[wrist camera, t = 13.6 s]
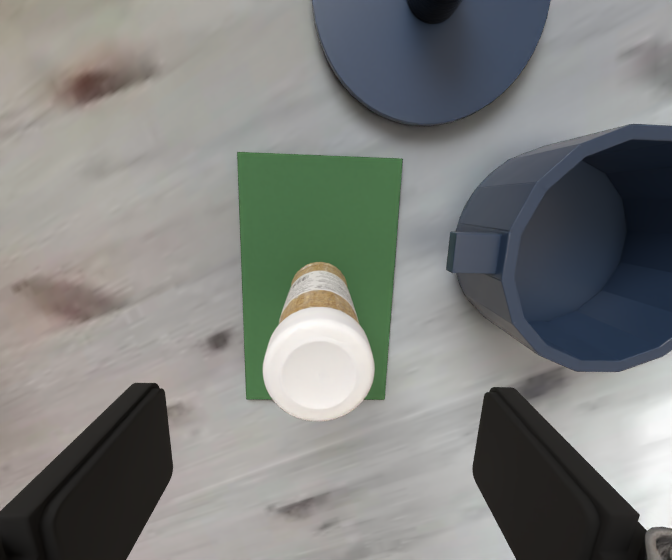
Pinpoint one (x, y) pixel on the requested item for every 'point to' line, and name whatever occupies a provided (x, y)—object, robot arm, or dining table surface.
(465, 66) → the lid
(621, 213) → the pot
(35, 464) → the dining table surface
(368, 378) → the sprinkles bottle
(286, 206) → the green flat rectangular board
